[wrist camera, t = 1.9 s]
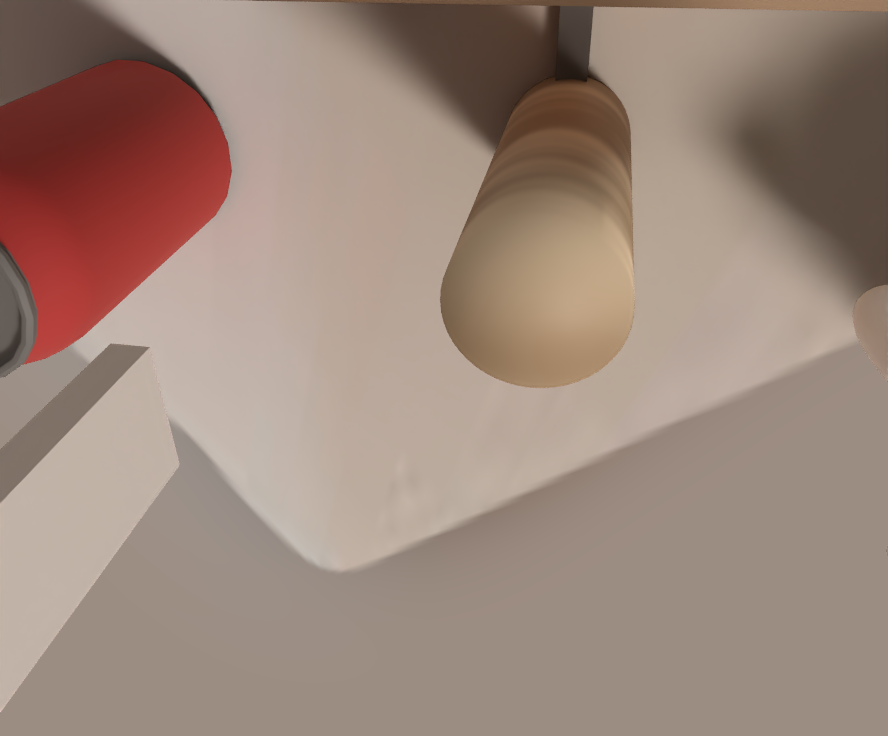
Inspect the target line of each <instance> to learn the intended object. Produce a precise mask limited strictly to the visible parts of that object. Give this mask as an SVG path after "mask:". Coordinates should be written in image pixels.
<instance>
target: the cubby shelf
mask: <svg viewBox="0 0 888 736" xmlns="http://www.w3.org/2000/svg"><path fill="white" fill-rule="evenodd" d="M254 1H311V2H369V3H426V4H483V5H541V6H598V7H656V8H713V9H771V10H828V11H885V12H888V0H254Z"/></svg>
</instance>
